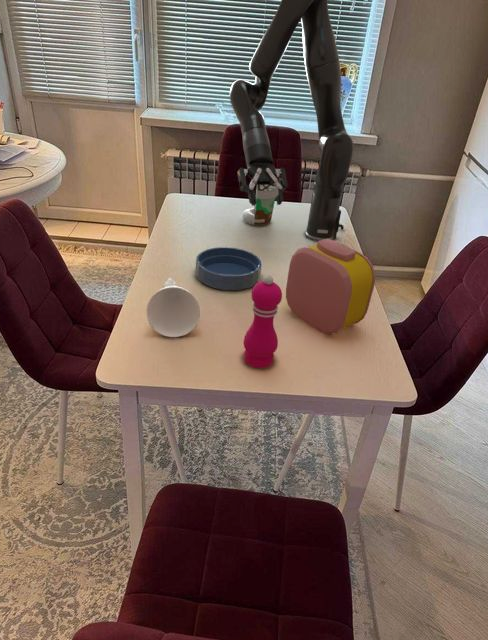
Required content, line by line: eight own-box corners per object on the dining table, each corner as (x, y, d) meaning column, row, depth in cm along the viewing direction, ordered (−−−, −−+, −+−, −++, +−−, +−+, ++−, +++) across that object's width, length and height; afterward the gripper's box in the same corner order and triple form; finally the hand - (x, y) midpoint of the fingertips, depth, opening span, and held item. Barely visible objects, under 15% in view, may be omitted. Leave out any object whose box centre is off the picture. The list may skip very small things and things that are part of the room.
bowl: (247, 259, 145) (248, 245, 142) (269, 288, 132) (270, 273, 129) (189, 263, 140) (189, 249, 137) (205, 294, 126) (206, 278, 124)
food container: (275, 228, 138) (280, 193, 132) (253, 226, 137) (257, 191, 132) (274, 212, 148) (278, 179, 142) (253, 210, 147) (257, 177, 142)
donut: (265, 216, 176) (238, 216, 173) (266, 206, 174) (239, 206, 171) (274, 226, 168) (247, 227, 165) (276, 217, 166) (248, 217, 163)
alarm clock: (364, 330, 119) (384, 256, 108) (335, 344, 113) (353, 268, 102) (309, 297, 130) (321, 227, 119) (279, 309, 123) (289, 236, 112)
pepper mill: (273, 350, 109) (286, 268, 97) (276, 370, 103) (289, 286, 91) (241, 348, 108) (249, 266, 97) (242, 369, 102) (251, 283, 91)
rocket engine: (170, 256, 120) (170, 276, 104) (205, 287, 125) (211, 310, 108) (140, 290, 123) (135, 315, 106) (175, 319, 127) (176, 347, 111)
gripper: (237, 141, 134) (247, 198, 133) (285, 142, 139) (295, 197, 137) (229, 156, 142) (239, 210, 140) (275, 156, 146) (285, 209, 144)
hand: (267, 204), depth 138 cm, fingers closed on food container, 7 cm apart
